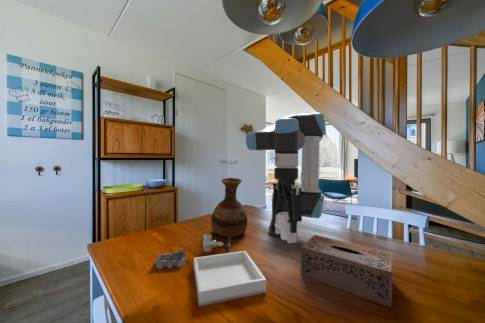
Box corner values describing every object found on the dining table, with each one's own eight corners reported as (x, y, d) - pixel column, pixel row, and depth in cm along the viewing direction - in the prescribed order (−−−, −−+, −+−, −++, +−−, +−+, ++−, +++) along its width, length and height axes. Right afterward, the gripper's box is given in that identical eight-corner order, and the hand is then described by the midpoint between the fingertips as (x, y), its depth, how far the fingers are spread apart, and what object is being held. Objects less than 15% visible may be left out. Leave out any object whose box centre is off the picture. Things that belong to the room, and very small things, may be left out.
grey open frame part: (187, 258, 83) (187, 248, 83) (183, 268, 75) (183, 257, 75) (159, 259, 82) (159, 249, 82) (153, 270, 74) (153, 258, 74)
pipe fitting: (298, 242, 63) (298, 217, 63) (274, 241, 64) (275, 216, 64) (295, 235, 69) (295, 211, 69) (274, 234, 70) (274, 211, 70)
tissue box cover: (300, 275, 72) (301, 246, 72) (314, 259, 83) (314, 234, 83) (391, 308, 56) (391, 272, 56) (392, 283, 68) (393, 253, 67)
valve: (200, 253, 87) (227, 256, 85) (200, 238, 87) (227, 240, 85) (205, 247, 93) (231, 249, 92) (205, 232, 93) (231, 234, 91)
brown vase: (212, 241, 99) (213, 180, 98) (209, 227, 118) (209, 176, 118) (251, 238, 103) (252, 179, 103) (242, 225, 123) (242, 175, 122)
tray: (245, 260, 81) (245, 250, 81) (266, 292, 62) (266, 279, 62) (193, 268, 75) (193, 257, 75) (199, 306, 56) (199, 292, 56)
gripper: (262, 165, 74) (262, 228, 75) (292, 169, 55) (291, 252, 56) (281, 165, 77) (280, 226, 77) (316, 168, 58) (314, 249, 58)
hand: (285, 237), depth 66 cm, fingers closed on pipe fitting, 7 cm apart
